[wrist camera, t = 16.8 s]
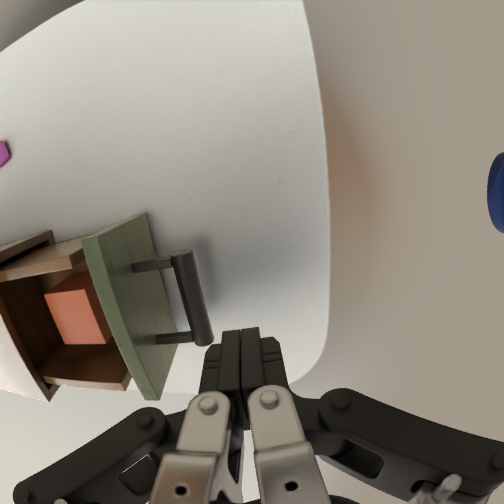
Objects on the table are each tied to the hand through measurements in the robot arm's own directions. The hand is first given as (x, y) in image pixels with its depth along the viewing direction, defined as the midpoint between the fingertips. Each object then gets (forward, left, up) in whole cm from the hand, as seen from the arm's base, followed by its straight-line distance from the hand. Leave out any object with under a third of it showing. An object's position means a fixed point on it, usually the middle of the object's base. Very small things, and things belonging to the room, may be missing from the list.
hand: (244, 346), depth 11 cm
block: (+9, +9, -10) cm, 16 cm away
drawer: (+8, +8, -11) cm, 16 cm away
